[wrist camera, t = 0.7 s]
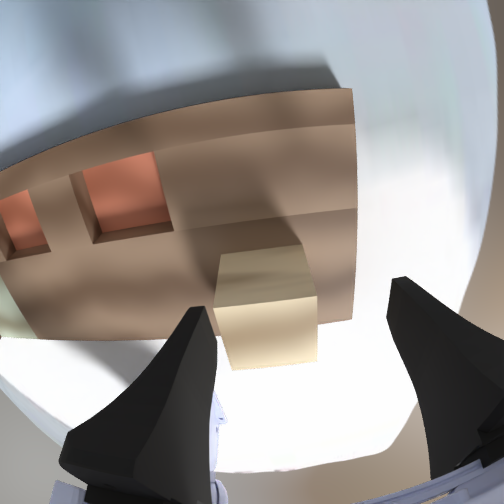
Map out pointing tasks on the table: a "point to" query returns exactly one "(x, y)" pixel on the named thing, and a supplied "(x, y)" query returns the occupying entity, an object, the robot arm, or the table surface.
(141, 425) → the robot arm
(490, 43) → the table surface
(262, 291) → the pine block
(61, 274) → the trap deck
